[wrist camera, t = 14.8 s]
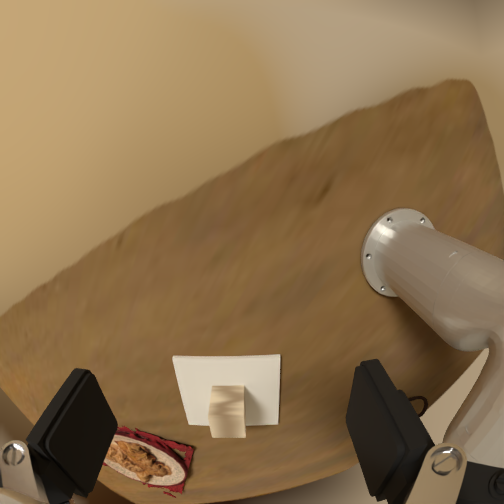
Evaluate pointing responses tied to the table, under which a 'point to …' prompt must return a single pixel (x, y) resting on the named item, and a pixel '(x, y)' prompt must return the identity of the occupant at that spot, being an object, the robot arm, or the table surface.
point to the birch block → (227, 412)
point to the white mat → (230, 384)
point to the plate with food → (148, 459)
